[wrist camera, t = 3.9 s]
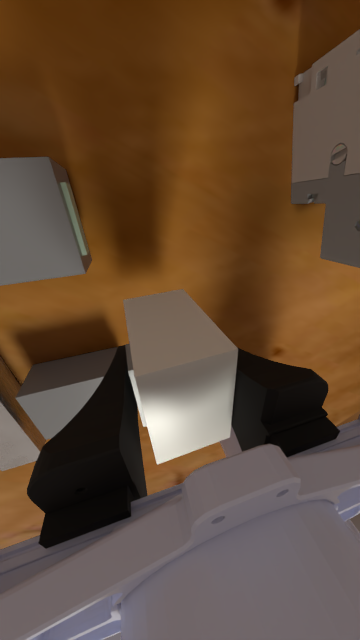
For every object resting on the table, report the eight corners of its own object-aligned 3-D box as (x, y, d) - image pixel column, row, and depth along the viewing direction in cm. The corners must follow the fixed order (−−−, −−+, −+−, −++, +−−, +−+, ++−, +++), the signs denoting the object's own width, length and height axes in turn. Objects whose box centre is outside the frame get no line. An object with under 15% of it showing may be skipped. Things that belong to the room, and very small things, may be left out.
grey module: (182, 289, 14) (238, 348, 8) (187, 357, 17) (229, 437, 11) (118, 300, 13) (125, 379, 7) (135, 370, 16) (151, 466, 10)
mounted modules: (70, 169, 13) (55, 156, 10) (131, 385, 24) (133, 414, 21) (-79, 175, 12) (-157, 163, 8) (56, 404, 22) (45, 439, 19)
